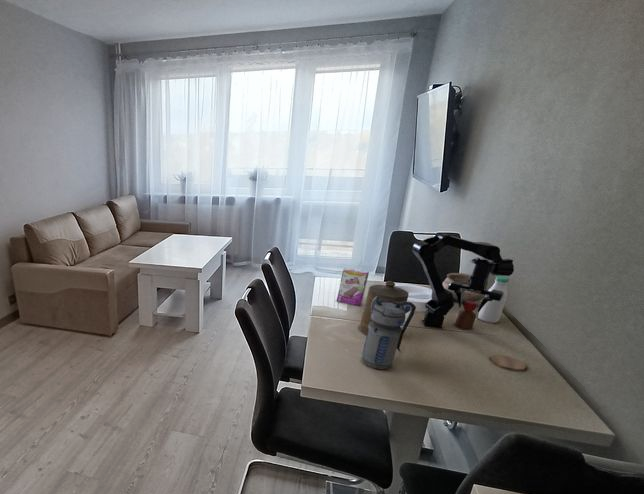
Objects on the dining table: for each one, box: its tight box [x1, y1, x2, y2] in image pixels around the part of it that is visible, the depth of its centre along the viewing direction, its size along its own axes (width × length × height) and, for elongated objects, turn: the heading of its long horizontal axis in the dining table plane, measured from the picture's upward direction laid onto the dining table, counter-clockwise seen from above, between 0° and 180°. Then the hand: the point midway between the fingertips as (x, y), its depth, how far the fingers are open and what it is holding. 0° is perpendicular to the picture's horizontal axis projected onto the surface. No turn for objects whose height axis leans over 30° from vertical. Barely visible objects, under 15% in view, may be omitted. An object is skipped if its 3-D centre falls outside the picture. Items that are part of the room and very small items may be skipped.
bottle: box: [454, 308, 477, 331], centre depth 177 cm, size 6×6×10 cm
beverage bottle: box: [361, 296, 416, 370], centre depth 142 cm, size 10×13×25 cm
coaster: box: [490, 354, 527, 372], centre depth 149 cm, size 10×10×1 cm
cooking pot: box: [442, 272, 490, 305], centre depth 205 cm, size 25×19×12 cm
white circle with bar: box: [383, 282, 432, 313], centre depth 205 cm, size 28×28×5 cm
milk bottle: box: [477, 275, 510, 324], centre depth 183 cm, size 8×8×20 cm
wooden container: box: [359, 280, 409, 335], centre depth 168 cm, size 15×15×22 cm
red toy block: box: [463, 301, 478, 312], centre depth 175 cm, size 4×4×3 cm
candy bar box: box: [336, 267, 370, 307], centre depth 199 cm, size 11×5×16 cm, turn 58°
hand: (469, 309), depth 176 cm, fingers open, 6 cm apart
